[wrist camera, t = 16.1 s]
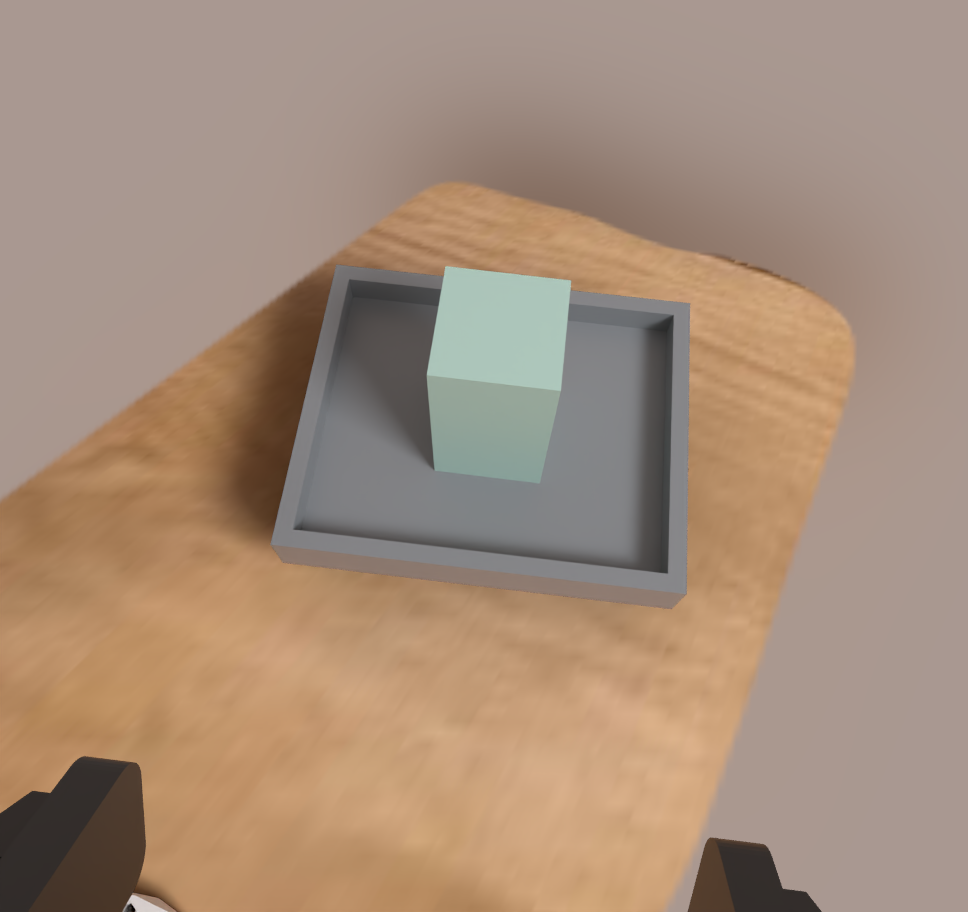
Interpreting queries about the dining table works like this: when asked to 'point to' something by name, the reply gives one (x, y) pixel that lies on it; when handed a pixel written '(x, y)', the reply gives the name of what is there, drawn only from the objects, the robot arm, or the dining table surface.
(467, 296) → the sage part block
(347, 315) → the grey shallow tray
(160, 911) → the mechanical component
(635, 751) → the dining table surface
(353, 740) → the dining table surface
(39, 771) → the dining table surface
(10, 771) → the dining table surface
